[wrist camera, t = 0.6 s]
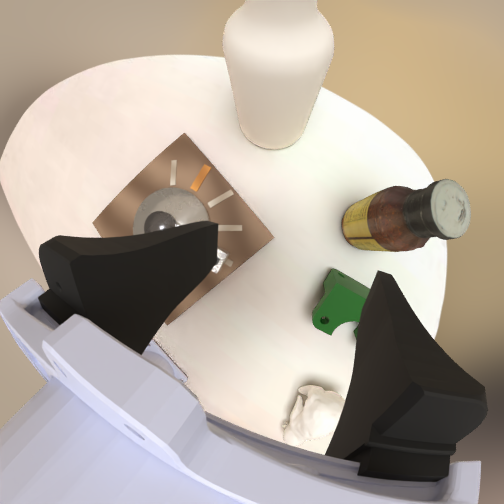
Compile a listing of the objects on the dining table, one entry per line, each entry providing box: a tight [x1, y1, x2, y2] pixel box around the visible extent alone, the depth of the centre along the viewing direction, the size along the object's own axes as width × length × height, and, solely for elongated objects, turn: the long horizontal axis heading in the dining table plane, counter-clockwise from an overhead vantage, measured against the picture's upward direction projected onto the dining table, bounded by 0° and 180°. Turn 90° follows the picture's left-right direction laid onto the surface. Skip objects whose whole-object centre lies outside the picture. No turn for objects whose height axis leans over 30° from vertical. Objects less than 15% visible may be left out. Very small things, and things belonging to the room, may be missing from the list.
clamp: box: [312, 269, 370, 340], centre depth 32 cm, size 12×6×9 cm, turn 55°
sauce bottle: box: [342, 179, 471, 252], centre depth 24 cm, size 7×6×20 cm
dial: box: [133, 188, 230, 274], centre depth 30 cm, size 13×10×4 cm
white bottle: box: [222, 0, 334, 149], centre depth 18 cm, size 9×9×30 cm
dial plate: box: [93, 133, 274, 325], centre depth 34 cm, size 18×18×2 cm
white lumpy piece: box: [282, 385, 345, 447], centre depth 31 cm, size 6×8×12 cm
